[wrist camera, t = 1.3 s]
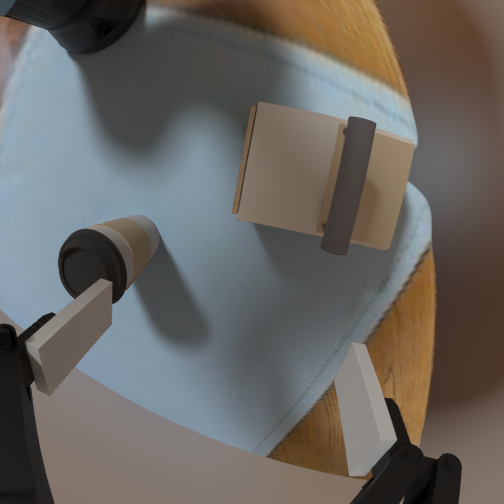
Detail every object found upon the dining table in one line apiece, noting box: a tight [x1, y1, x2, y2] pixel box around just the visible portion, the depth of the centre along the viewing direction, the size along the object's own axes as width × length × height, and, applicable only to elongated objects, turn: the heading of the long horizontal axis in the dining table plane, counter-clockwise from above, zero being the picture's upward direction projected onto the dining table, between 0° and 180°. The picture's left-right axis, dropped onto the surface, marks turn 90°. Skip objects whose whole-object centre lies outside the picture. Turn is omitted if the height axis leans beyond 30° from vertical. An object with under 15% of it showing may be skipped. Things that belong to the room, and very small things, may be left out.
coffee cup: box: [58, 215, 160, 304], centre depth 36 cm, size 9×9×15 cm
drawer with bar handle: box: [317, 117, 415, 255], centre depth 25 cm, size 11×8×8 cm
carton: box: [232, 102, 413, 251], centre depth 33 cm, size 12×17×9 cm
